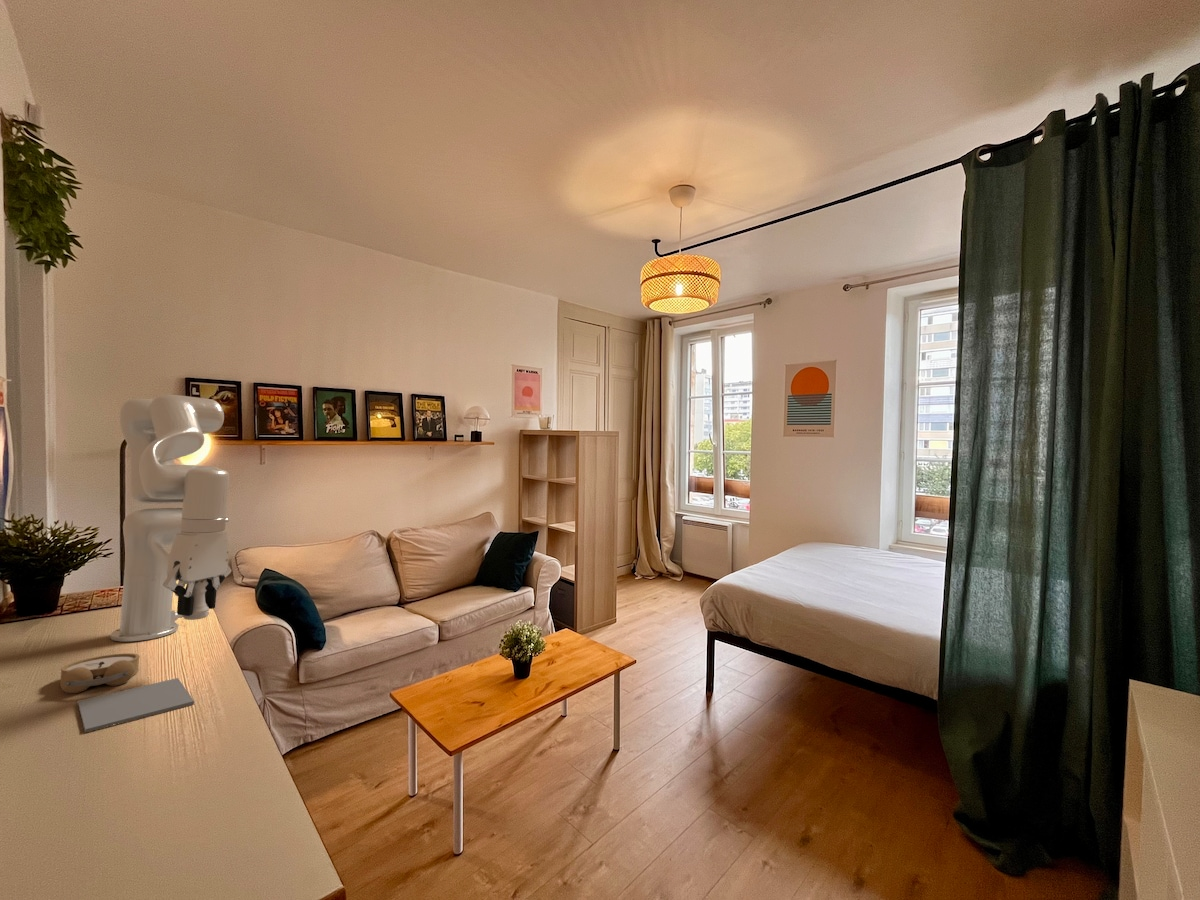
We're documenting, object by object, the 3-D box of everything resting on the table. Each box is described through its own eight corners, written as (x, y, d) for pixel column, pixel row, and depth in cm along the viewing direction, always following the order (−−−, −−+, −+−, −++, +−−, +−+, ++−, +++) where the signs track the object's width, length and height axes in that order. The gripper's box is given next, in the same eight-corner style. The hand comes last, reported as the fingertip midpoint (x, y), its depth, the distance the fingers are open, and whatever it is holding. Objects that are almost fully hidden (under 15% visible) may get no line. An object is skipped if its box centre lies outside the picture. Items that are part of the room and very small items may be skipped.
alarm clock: (140, 649, 108) (138, 658, 97) (138, 673, 108) (136, 685, 97) (65, 661, 101) (54, 672, 90) (62, 686, 100) (51, 701, 89)
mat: (77, 704, 90) (77, 700, 90) (177, 680, 100) (177, 677, 100) (84, 733, 81) (85, 729, 81) (193, 704, 91) (194, 701, 91)
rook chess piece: (179, 621, 103) (183, 582, 103) (185, 614, 107) (188, 577, 107) (206, 619, 105) (209, 581, 105) (211, 612, 109) (214, 576, 109)
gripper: (224, 520, 115) (218, 598, 115) (147, 529, 99) (139, 621, 98) (252, 523, 114) (245, 602, 113) (178, 532, 97) (170, 626, 97)
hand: (196, 610), depth 106 cm, fingers closed on rook chess piece, 4 cm apart
